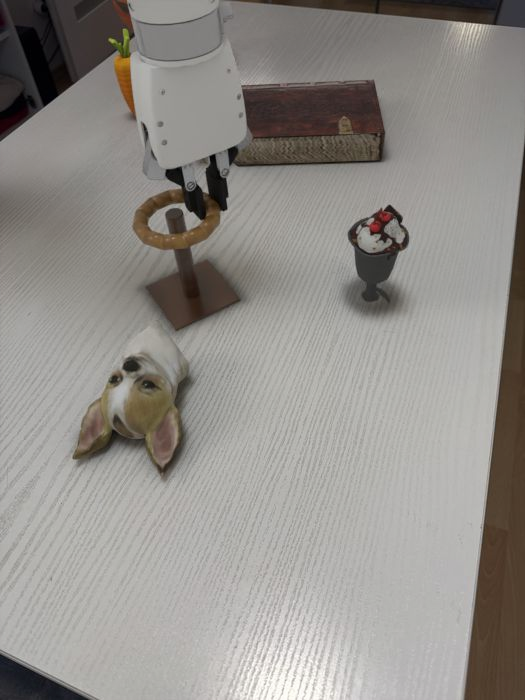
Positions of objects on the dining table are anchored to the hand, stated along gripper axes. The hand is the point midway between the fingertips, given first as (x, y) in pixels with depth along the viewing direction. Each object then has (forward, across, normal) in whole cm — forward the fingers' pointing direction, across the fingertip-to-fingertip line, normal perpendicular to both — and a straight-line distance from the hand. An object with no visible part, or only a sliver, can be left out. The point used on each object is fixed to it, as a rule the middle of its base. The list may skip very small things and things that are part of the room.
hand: (208, 208), depth 61 cm
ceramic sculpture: (+12, +16, +13) cm, 24 cm away
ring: (0, +4, 0) cm, 4 cm away
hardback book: (+12, -28, -26) cm, 40 cm away
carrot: (+12, -9, -47) cm, 49 cm away
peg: (+12, +4, 0) cm, 13 cm away
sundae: (+12, -14, +13) cm, 23 cm away
